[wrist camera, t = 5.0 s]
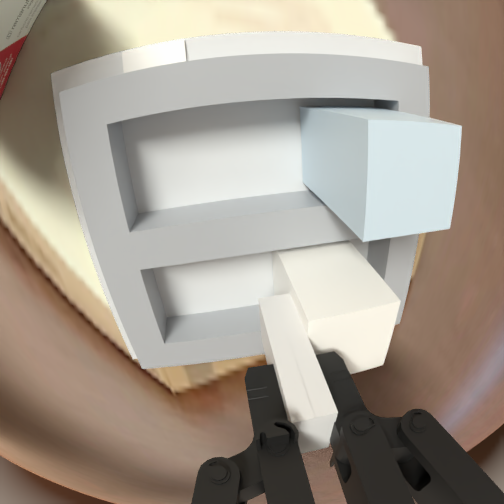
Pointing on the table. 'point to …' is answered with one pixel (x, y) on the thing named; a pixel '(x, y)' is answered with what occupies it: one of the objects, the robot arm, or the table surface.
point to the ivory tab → (338, 301)
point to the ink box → (14, 31)
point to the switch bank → (216, 176)
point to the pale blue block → (381, 168)
